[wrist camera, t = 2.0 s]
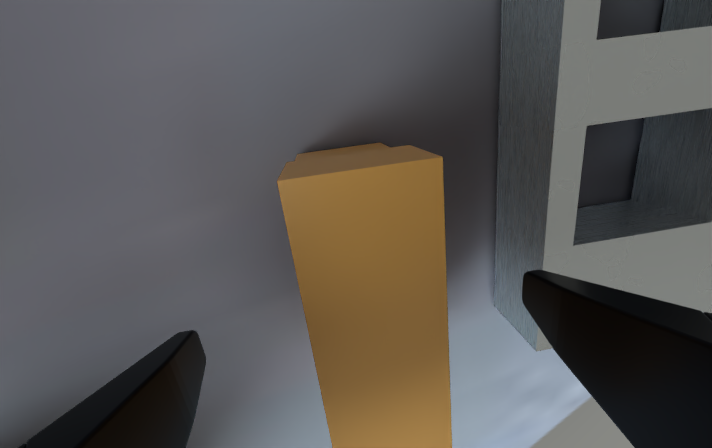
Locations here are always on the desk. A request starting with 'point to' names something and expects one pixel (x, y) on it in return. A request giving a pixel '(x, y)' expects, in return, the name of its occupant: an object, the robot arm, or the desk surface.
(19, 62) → the desk surface
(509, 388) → the desk surface
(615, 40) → the rail
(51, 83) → the desk surface
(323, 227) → the clip
